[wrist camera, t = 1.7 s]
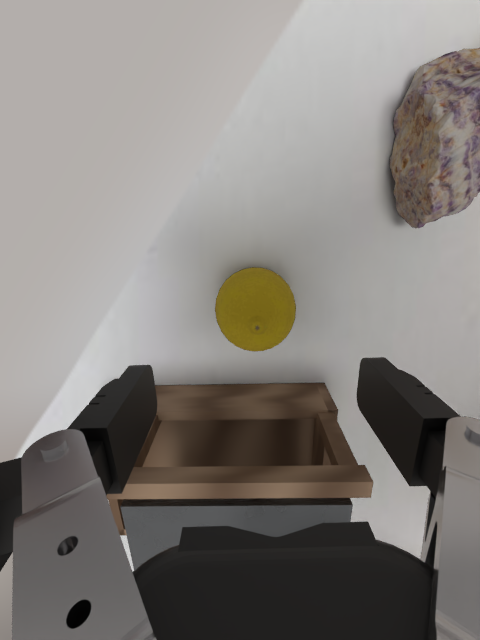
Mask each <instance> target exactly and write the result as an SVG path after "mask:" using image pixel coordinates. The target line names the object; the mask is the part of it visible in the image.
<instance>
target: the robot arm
mask: <svg viewBox="0 0 480 640" xmlns="http://www.w3.org/2000/svg"><path fill="white" fill-rule="evenodd" d="M357 403H358V407H359V409H360V411H361V413H362V414H363V416H364V417H365V419H366V420H367V422H368V423H369V425H370V426H371V428H372V430H373V431H374V433H375V434H376V436H377V437H378V439H379V440H380V442H381V443H382V445H383V446H384V448H385V449H386V451H387V452H388V454H389V455H390V457H391V459H392V460H393V462H394V463H395V465H396V466H397V468H398V469H399V471H400V472H401V474H402V475H403V477H404V478H405V480H406V481H407V483H408V484H409V486H427V487H428V488H429V489H430V495H429V499H428V505H427V513H426V521H425V528H424V536H423V544H422V552H421V558H420V559H419V558H417V557H415V556H413V555H412V554H410V553H408V552H406V551H404V550H402V549H400V548H398V547H396V546H394V545H391V544H388V543H385V542H382V541H379V540H376V539H375V537H374V535H373V532H372V530H371V528H370V526H369V523H368V522H341V523H321V524H318V525H314V526H311V527H308V528H305V529H302V530H299V531H296V532H293V533H290V534H287V535H283V536H280V537H271V536H267V535H263V534H259V533H255V532H251V531H247V530H243V529H239V528H235V527H231V526H202V527H182V532H181V537H180V543H179V545H177V546H174V547H171V548H169V549H167V550H164V551H162V552H160V553H158V554H157V555H155V556H153V557H152V558H150V559H149V560H147V561H146V562H145V563H143V564H142V565H141V566H139V567H138V568H137V569H136V570H135V571H133V572H132V570H131V567H130V564H129V561H128V558H127V555H126V552H125V549H124V546H123V543H122V540H121V537H120V535H119V532H118V529H117V526H116V523H115V520H114V517H113V514H112V511H111V508H110V505H109V502H108V499H107V497H106V495H107V494H122V492H123V490H124V488H125V485H126V483H127V481H128V479H129V476H130V474H131V472H132V469H133V467H134V465H135V463H136V460H137V458H138V456H139V453H140V451H141V449H142V447H143V444H144V442H145V440H146V437H147V435H148V433H149V431H150V428H151V426H152V424H153V421H154V419H155V417H156V413H157V396H156V389H155V383H154V376H153V370H152V367H151V366H150V365H133V366H129V367H128V368H127V369H126V370H125V372H124V373H123V374H122V375H121V377H120V378H119V379H114V380H112V381H111V382H109V383H108V384H106V385H105V386H103V387H102V388H101V390H100V391H99V392H98V393H97V394H96V396H95V397H94V398H93V399H92V400H91V401H90V403H89V405H87V406H86V407H85V408H84V410H83V411H82V412H81V413H80V414H79V416H78V417H77V418H76V419H75V420H74V421H73V423H72V424H71V425H70V426H69V427H68V429H66V430H61V431H57V432H54V433H51V434H49V435H46V436H44V437H43V438H41V439H39V440H38V441H36V442H35V443H33V444H32V445H31V446H30V447H29V448H28V449H27V450H26V451H25V453H24V454H23V456H22V458H18V459H14V460H10V461H6V462H2V463H0V571H1V569H2V568H3V566H4V565H5V563H6V562H7V560H8V558H9V557H10V555H11V554H12V552H13V597H12V598H13V599H12V601H13V602H12V640H480V420H479V419H475V418H470V417H461V416H460V415H458V414H457V413H456V412H455V411H454V410H453V409H451V408H450V407H449V406H448V405H447V404H446V403H444V402H443V401H442V400H441V399H440V398H439V397H437V396H436V395H435V394H433V392H432V391H430V390H429V389H428V388H427V387H425V386H424V385H423V384H422V383H421V382H420V381H419V380H418V379H417V378H415V377H414V376H412V375H410V374H408V373H406V372H404V371H402V370H398V369H397V368H396V367H395V366H394V365H393V364H392V363H390V362H389V361H388V360H387V359H386V358H384V357H381V358H363V359H362V360H361V363H360V370H359V379H358V388H357Z"/></svg>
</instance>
